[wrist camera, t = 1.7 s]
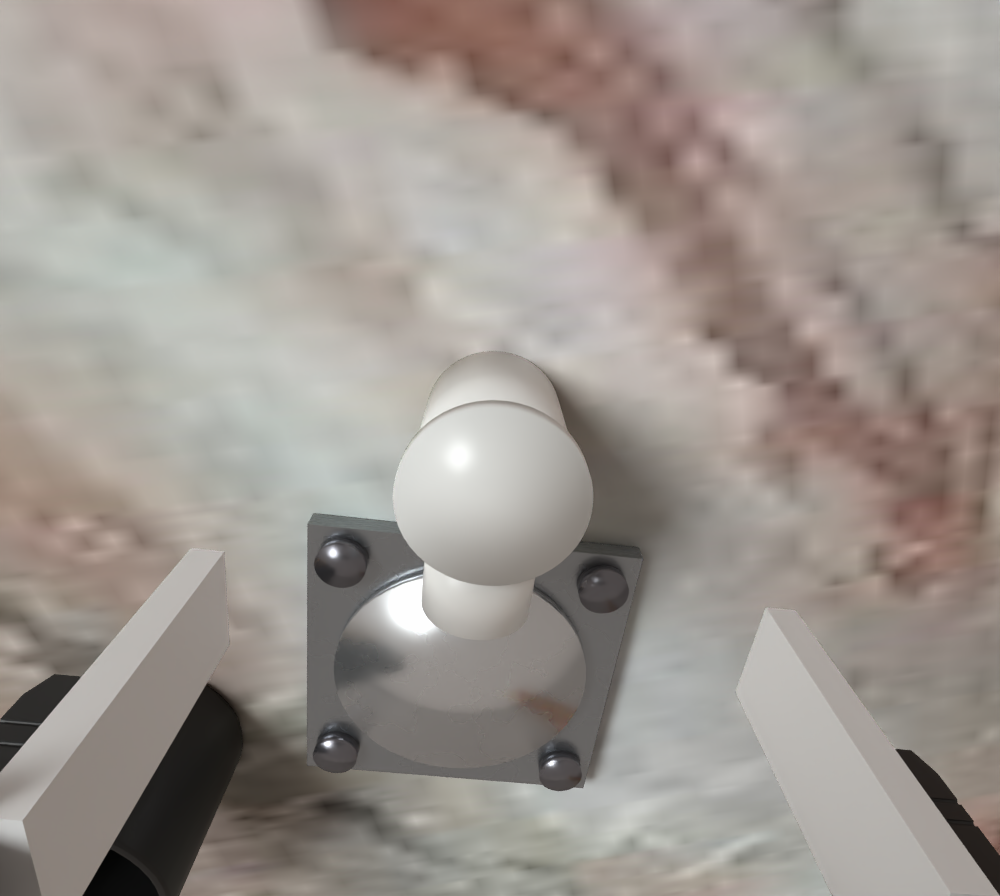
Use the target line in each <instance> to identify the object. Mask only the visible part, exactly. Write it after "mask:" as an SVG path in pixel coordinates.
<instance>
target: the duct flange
mask: <svg viewBox="0 0 1000 896" xmlns="http://www.w3.org/2000/svg"><path fill="white" fill-rule="evenodd" d="M642 561H643V558H642V555H641V552H640V550H639V548H637V547H628V546H618V545H609V544H599V543H590V542H579V544H578V545H577V547H576V548H575V549H574V550H573V551H572V553H571V554H570V555H569V556H568V557H567V558H565V559H564V560H563V561H562V562H561V563H560V564H558V565H557V566H556V567H554V568H553V569H551V570H549V571H548V572H546V573H544V574H542V575H540V576H538V577H535V581H534V587H533V592H532V598H531V603H530V609H529V614H528V618H527V620H526V622H525V623H524V624H523V626H522V627H521V628H520V629H518V630H517V631H515V632H514V633H512V634H510V635H508V636H505V637H502V638H498V639H492V640H470V639H464V638H460V637H457V636H454V635H451V634H449V633H446V632H444V631H443V630H441V629H439V628H438V627H436V626H435V625H434V624H433V623H431V622H430V621H429V619H428V618H427V617H426V616H425V614H424V612H423V610H422V607H421V593H422V582H423V572H424V561H423V560H422V559H421V558H420V557H419V556H417V554H416V553H415V552H414V551H413V550H412V549H411V548H410V546H409V545H408V543H407V542H406V540H405V539H404V537H403V535H402V533H401V531H400V529H399V527H398V524H397V522H390V521H381V520H371V519H362V518H352V517H343V516H333V515H324V514H314V513H313V515H312V517H311V519H310V521H309V522H308V560H307V766H318V767H320V768H321V769H323V770H325V771H328V772H332V773H341V772H346V771H348V770H350V769H355V770H368V771H380V772H392V773H405V774H417V775H429V776H441V777H454V778H466V779H478V780H490V781H503V782H515V783H527V784H540V785H544V786H545V787H546V788H548V789H551V790H555V791H564V790H569V789H571V788H573V787H576V788H583V787H584V783H585V779H586V775H587V772H588V768H589V764H590V760H591V756H592V753H593V749H594V745H595V741H596V737H597V733H598V730H599V726H600V722H601V718H602V714H603V710H604V707H605V703H606V699H607V695H608V691H609V688H610V684H611V680H612V676H613V672H614V668H615V665H616V661H617V657H618V653H619V649H620V645H621V642H622V638H623V634H624V630H625V626H626V623H627V619H628V615H629V611H630V607H631V603H632V600H633V596H634V592H635V588H636V584H637V581H638V577H639V573H640V569H641V565H642Z"/></svg>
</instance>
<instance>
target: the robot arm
mask: <svg viewBox="0 0 1000 896" xmlns="http://www.w3.org/2000/svg"><path fill="white" fill-rule="evenodd" d="M229 645H230V641H229V623H228V605H227V587H226V570H225V552H224V551H216V550H206V549H196V548H191V549H190V550H189V551H188V552H187V553H186V555H185V556H184V557H183V558H182V559H181V561H180V562H179V563H178V564H177V565H176V566H175V568H174V569H173V570H172V571H171V572H170V573H169V575H168V576H167V577H166V578H165V579H164V581H163V582H162V583H161V584H160V585H159V586H158V588H157V589H156V590H155V591H154V592H153V593H152V595H151V596H150V597H149V598H148V599H147V600H146V602H145V603H144V604H143V605H142V606H141V608H140V609H139V610H138V611H137V612H136V613H135V615H134V616H133V617H132V618H131V619H130V620H129V622H128V623H127V624H126V625H125V626H124V628H123V629H122V630H121V631H120V632H119V633H118V635H117V636H116V637H115V638H114V639H113V640H112V642H111V643H110V644H109V645H108V646H107V648H106V649H105V650H104V651H103V652H102V653H101V655H100V656H99V657H98V658H97V659H96V660H95V662H94V663H93V664H92V665H91V666H90V667H89V669H88V670H87V671H86V672H85V673H84V675H83V676H82V677H79V676H68V675H57V674H54V675H53V676H51V677H49V678H48V679H46V680H45V681H43V682H42V683H40V684H39V685H37V686H35V687H34V688H32V689H31V690H29V691H28V692H26V693H25V694H23V695H22V696H21V697H20V698H19V700H18V701H17V702H16V703H15V704H14V705H13V706H12V707H11V708H10V709H9V710H8V711H7V712H6V713H5V714H4V716H3V717H2V718H1V720H0V896H83V894H84V892H85V890H86V889H87V887H88V885H89V884H90V882H91V880H92V878H93V877H94V875H95V873H96V872H97V870H98V868H99V866H100V865H101V863H102V861H103V860H104V858H105V856H106V855H107V853H108V851H109V849H110V848H111V846H112V844H113V843H114V841H115V839H116V837H117V836H118V834H119V832H120V831H121V829H122V827H123V826H124V824H125V822H126V820H127V819H128V817H129V815H130V814H131V812H132V810H133V808H134V807H135V805H136V803H137V802H138V800H139V798H140V796H141V795H142V793H143V791H144V790H145V788H146V786H147V785H148V783H149V781H150V779H151V778H152V776H153V774H154V773H155V771H156V769H157V767H158V766H159V764H160V762H161V761H162V759H163V757H164V755H165V754H166V752H167V750H168V749H169V747H170V745H171V744H172V742H173V740H174V738H175V737H176V735H177V733H178V732H179V730H180V728H181V726H182V725H183V723H184V721H185V720H186V718H187V716H188V715H189V713H190V711H191V709H192V708H193V706H194V704H195V703H196V701H197V699H198V697H199V696H200V694H201V692H202V691H203V689H204V687H205V685H206V684H207V682H208V680H209V679H210V677H211V675H212V674H213V672H214V670H215V668H216V667H217V665H218V663H219V662H220V660H221V658H222V656H223V655H224V653H225V651H226V650H227V648H228V646H229ZM735 693H736V695H737V697H738V699H739V701H740V703H741V705H742V708H743V710H744V712H745V714H746V716H747V718H748V720H749V722H750V724H751V726H752V729H753V731H754V733H755V735H756V737H757V739H758V741H759V743H760V745H761V747H762V750H763V752H764V754H765V756H766V758H767V760H768V762H769V764H770V766H771V768H772V771H773V773H774V775H775V777H776V779H777V781H778V783H779V785H780V787H781V789H782V791H783V794H784V796H785V798H786V800H787V802H788V804H789V806H790V808H791V810H792V812H793V815H794V817H795V819H796V821H797V823H798V825H799V827H800V829H801V831H802V833H803V836H804V838H805V840H806V842H807V844H808V846H809V848H810V850H811V852H812V854H813V857H814V859H815V861H816V863H817V865H818V867H819V869H820V871H821V873H822V875H823V878H824V880H825V882H826V884H827V886H828V888H829V890H830V892H831V894H832V896H1000V855H999V854H998V853H997V851H996V850H995V849H994V847H993V846H992V845H991V844H990V842H989V841H988V840H987V838H986V837H985V836H984V834H983V833H982V832H981V830H980V829H979V828H978V827H976V826H974V824H973V820H972V818H971V817H970V816H969V814H968V813H967V812H966V811H965V809H964V808H963V807H962V805H958V803H957V799H956V797H955V796H954V795H953V793H952V792H951V791H950V789H949V788H948V787H947V785H946V784H945V783H944V781H943V780H942V779H941V777H940V776H939V775H938V774H937V773H936V772H935V771H934V770H933V769H932V768H931V767H929V766H928V765H927V764H926V763H925V762H924V761H923V760H921V759H920V758H919V757H918V756H917V755H916V754H915V753H913V752H912V751H911V750H901V749H895V748H894V747H893V746H892V744H891V743H890V741H889V740H888V739H887V737H886V736H885V734H884V733H883V732H882V730H881V729H880V727H879V726H878V725H877V723H876V722H875V720H874V719H873V718H872V716H871V715H870V713H869V712H868V711H867V709H866V708H865V706H864V705H863V704H862V702H861V701H860V699H859V698H858V697H857V695H856V694H855V692H854V691H853V690H852V688H851V687H850V685H849V684H848V683H847V681H846V680H845V678H844V677H843V675H842V674H841V673H840V671H839V670H838V668H837V667H836V666H835V664H834V663H833V661H832V660H831V659H830V657H829V656H828V654H827V653H826V652H825V650H824V649H823V647H822V646H821V645H820V643H819V642H818V640H817V639H816V638H815V636H814V635H813V633H812V632H811V631H810V629H809V628H808V626H807V625H806V624H805V622H804V621H803V619H802V618H801V617H800V615H799V614H798V612H797V611H796V610H789V609H779V608H769V607H766V608H765V611H764V614H763V617H762V619H761V622H760V625H759V628H758V630H757V633H756V636H755V639H754V641H753V644H752V647H751V650H750V652H749V655H748V658H747V661H746V663H745V666H744V669H743V672H742V675H741V677H740V680H739V683H738V686H737V688H736V691H735Z"/></svg>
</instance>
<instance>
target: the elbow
mask: <svg viewBox="0 0 1000 896" xmlns="http://www.w3.org/2000/svg"><path fill="white" fill-rule="evenodd" d="M393 507H394V514H395V518H396V521H397V524H398V527H399V529H400V531H401V533H402V535H403V537H404V539H405V540H406V542H407V543H408V545H409V546H410V548H411V549H412V550H413V551H414V552H415V553H416V554H417V556H419V557H420V558H421V559H422V560H423V561H424V572H423V582H422V593H421V607H422V610H423V612H424V614H425V616H426V617H427V618H428V619H429V621H430V622H431V623H433V624H434V625H435V626H436V627H438V628H439V629H441V630H443V631H444V632H446V633H449V634H451V635H454V636H457V637H460V638H464V639H470V640H492V639H498V638H502V637H505V636H508V635H510V634H512V633H514V632H515V631H517V630H518V629H520V628H521V627H522V626H523V624H524V623H525V622H526V620H527V618H528V614H529V609H530V603H531V598H532V592H533V587H534V581H535V577H538V576H540V575H542V574H544V573H546V572H548V571H549V570H551V569H553V568H554V567H556V566H557V565H558V564H560V563H561V562H562V561H563V560H564V559H565V558H567V557H568V556H569V555H570V554H571V553H572V551H573V550H574V549H575V548H576V547H577V545H578V544H579V542H580V541H581V539H582V538H583V536H584V534H585V532H586V530H587V527H588V525H589V522H590V518H591V515H592V509H593V485H592V479H591V476H590V473H589V470H588V466H587V463H586V460H585V457H584V455H583V453H582V451H581V449H580V447H579V445H578V444H577V443H576V441H575V440H574V438H573V437H572V436H571V434H570V433H569V432H568V431H567V427H566V424H565V420H564V417H563V414H562V410H561V407H560V403H559V400H558V397H557V394H556V391H555V389H554V387H553V385H552V383H551V382H550V380H549V379H548V377H547V376H546V375H545V374H544V373H543V372H542V370H540V369H539V368H538V367H537V366H536V365H534V364H533V363H531V362H530V361H528V360H526V359H524V358H522V357H520V356H517V355H514V354H511V353H506V352H498V351H489V352H481V353H476V354H472V355H470V356H467V357H465V358H463V359H460V360H458V361H457V362H455V363H454V364H452V365H451V366H450V367H449V368H448V369H447V370H445V371H444V372H443V374H442V375H441V376H440V377H439V378H438V380H437V382H436V383H435V385H434V387H433V389H432V391H431V393H430V397H429V400H428V403H427V407H426V410H425V413H424V417H423V420H422V423H421V427H420V430H419V432H418V433H417V434H416V435H415V436H414V437H413V439H412V440H411V442H410V443H409V445H408V446H407V448H406V450H405V452H404V454H403V456H402V458H401V461H400V464H399V467H398V470H397V474H396V477H395V480H394V488H393Z"/></svg>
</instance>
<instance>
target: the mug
mask: <svg viewBox="0 0 1000 896" xmlns="http://www.w3.org/2000/svg"><path fill="white" fill-rule="evenodd" d="M242 747H243V741H242V730H241V726H240V723H239V720H238V718H237V716H236V714H235V713H234V711H233V710H232V708H231V707H230V706H229V704H228V703H227V702H226V701H225V700H224V699H223V698H222V697H221V696H220V695H219V694H217V693H216V692H215V691H213V690H212V689H211V688H209V687H208V686H206V685H205V687H204V689H203V691H202V692H201V694H200V696H199V697H198V699H197V701H196V703H195V704H194V706H193V708H192V709H191V711H190V713H189V715H188V716H187V718H186V720H185V721H184V723H183V725H182V726H181V728H180V730H179V732H178V733H177V735H176V737H175V738H174V740H173V742H172V744H171V745H170V747H169V749H168V750H167V752H166V754H165V755H164V757H163V759H162V761H161V762H160V764H159V766H158V767H157V769H156V771H155V773H154V774H153V776H152V778H151V779H150V781H149V783H148V785H147V786H146V788H145V790H144V791H143V793H142V795H141V796H140V798H139V800H138V802H137V803H136V805H135V807H134V808H133V810H132V812H131V814H130V815H129V817H128V819H127V820H126V822H125V824H124V826H123V827H122V829H121V831H120V832H119V834H118V836H117V837H116V839H115V841H114V843H113V844H112V846H111V848H110V849H109V851H108V853H107V855H106V856H105V858H104V860H103V861H102V863H101V865H100V866H99V868H98V870H97V872H96V873H95V875H94V877H93V878H92V880H91V882H90V884H89V885H88V887H87V889H86V890H85V892H84V894H83V896H179V895H180V892H181V890H182V888H183V886H184V883H185V881H186V879H187V877H188V874H189V872H190V870H191V868H192V865H193V863H194V861H195V859H196V856H197V854H198V852H199V849H200V847H201V845H202V843H203V840H204V838H205V836H206V834H207V831H208V829H209V827H210V825H211V822H212V820H213V818H214V816H215V813H216V811H217V809H218V806H219V804H220V802H221V800H222V797H223V795H224V793H225V791H226V788H227V786H228V784H229V782H230V779H231V777H232V775H233V773H234V770H235V768H236V766H237V763H238V761H239V759H240V756H241V753H242Z"/></svg>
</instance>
